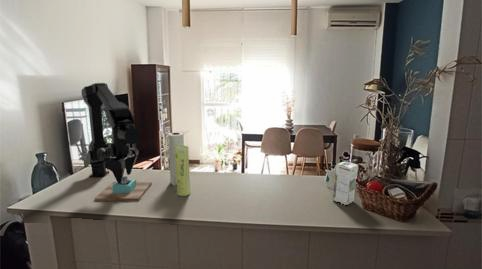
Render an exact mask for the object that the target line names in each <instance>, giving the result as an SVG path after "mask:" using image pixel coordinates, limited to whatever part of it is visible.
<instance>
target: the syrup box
mask: <svg viewBox="0 0 482 269" xmlns="http://www.w3.org/2000/svg"><path fill="white" fill-rule="evenodd" d="M358 171H359V164H356V163H354V162H350V161H349V162H348V161H341V162H339V163H337V164H336V166H335V174H334V186H333V196H332V201H333V200H336V201H338V202H341V203H344V204H349V203H350V202H352V201H354V202H355V198H356V197H355V196H356V189H357V182H356V179H358Z"/></svg>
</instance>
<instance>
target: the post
mask: <svg viewBox="0 0 482 269" xmlns="http://www.w3.org/2000/svg"><path fill="white" fill-rule="evenodd" d="M128 179H129V178H128V176H124V175H123V178H122V181H121V184H127V185H128Z"/></svg>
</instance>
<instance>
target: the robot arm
mask: <svg viewBox="0 0 482 269" xmlns="http://www.w3.org/2000/svg"><path fill="white" fill-rule="evenodd" d="M108 86H109V85H108V84H107V83H105V82H95V83H91V85H88V86H84V87H83V88H82V89H81V96H82V98H83V102H84V103H85V105H86V106H87V107H88V112H89V126H90V136H91V141H90V143H89V145H88V147H87V148H88V151H87V153H86V156H85V162H86V163H87V164H89V165H91V174H89V175H88V176H89V177H90V178H104V177H105V176H107V175H108V174H109V173H110V171H111V173H112V175H113V176H114V178H115V180H116V182H117V183H121V181H122V178H123V177H124V174H125V173H124V172H125V171H126V175H127V176H129V175H131V173H132V171H133V168H134V165H135V163H136V161H137V159H138V155H139V149H138V148H137V147H131V146H130V145H136V144H137V143H138V142H139V141H140V139H141V132H140V131H139V130H138V129H137V128H135V125H136V121H135V120H136V119H135V117H134V115H133V113H132V111H131V109H130V108H129V107H128V105H127V104H126V103H124V102H121V101H119V100H118V99H117V98H116V97H115V95H114V94H113V93H112V91H111V89H110V88H109V87H108ZM103 105H104V107H105V108H106V118H107V120H108V122H109V123H110V127H111V133H112V142H111V143H110V144H107V142H106V141H105V140H104V139H105V138H104V129H103V128H104V127H103V116H102V106H103ZM107 170H108V171H107Z"/></svg>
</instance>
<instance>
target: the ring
mask: <svg viewBox="0 0 482 269" xmlns="http://www.w3.org/2000/svg"><path fill="white" fill-rule="evenodd" d="M127 179H128V185H127V184H121V183H117V181H115V182H116V183H115V184H113V185H112V188H113V193H131V192H132V191H133V190H134V189H135V187H136V182H137V179H131V178H130V179H129V178H127Z"/></svg>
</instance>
